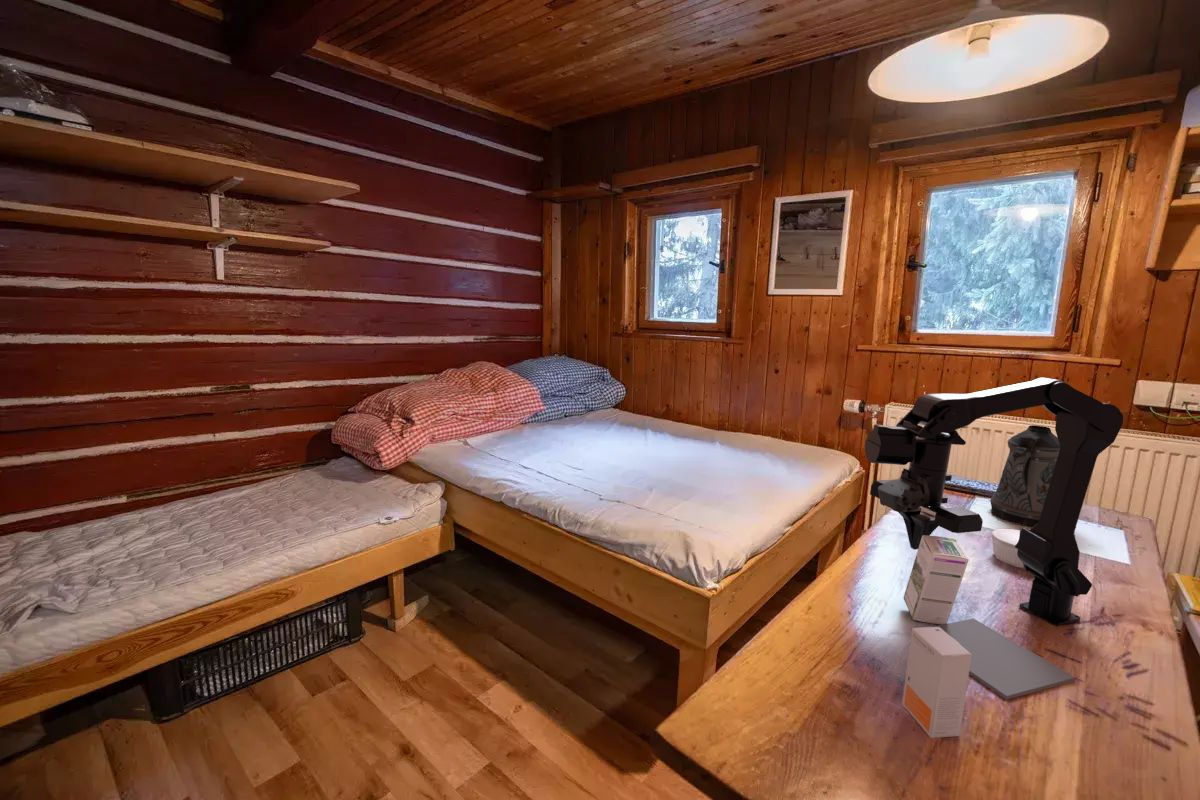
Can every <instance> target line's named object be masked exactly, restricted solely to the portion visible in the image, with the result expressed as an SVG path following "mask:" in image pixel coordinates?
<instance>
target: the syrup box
mask: <svg viewBox="0 0 1200 800" xmlns="http://www.w3.org/2000/svg"><path fill="white" fill-rule="evenodd" d="M969 560H970V559H969V558H968V556H967V555H966V553H965V552H964V550H963V549H962V547H961V546H960V544H959V543H958V541H957V539H955V538H950V537H946V536H945V537H944V536H936V535H930V536H927V535H923V536H922V538H921V541H920V545H919V548H918V549H917V552H916V555H915V559H914V561H913V565H912V568H911V571H910V575H909V577H908V582H907V584H906V589H905V592H904V595H903V601H904V604H905V605H906V606H907V609H908V612H909V614H910V617H911V618H912V620H914V621H918V622H922V623H928V624H934V625H938V626H939V625H943V624H948V621H949V619H950V616H951V613H952V610H953V606H954V603H955V602H956V599H957V595H958V593H959V589H960V586H961V583H962V580H963V578H964V574H965V572H966V569H967V566H968V563H969Z"/></svg>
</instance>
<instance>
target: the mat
mask: <svg viewBox="0 0 1200 800" xmlns="http://www.w3.org/2000/svg"><path fill="white" fill-rule="evenodd" d="M933 627H940V628H941V629H942V630H943V631H945V632H946V633H947V634H948V635H949V636H951V637H952V638H954V639H955V640H956V641H957V642H959V644H960V645H961V646H962V647H964V648H965V649H966V650H967V651H968V652H970V653H971V654H972V658H971V664H970V670H969V676H971V677H972V678H974V679H975V680H977V681H979V682H980V683H981V684H982V685H984V686H985V687H987V688H989V689H990V690H992V691H993V692H994V693H995V694H997V695H999V696H1000V697H1001V698H1003V699H1004V700H1005V701H1007V700H1010V699H1015V698H1017V697H1021V696H1025V695H1029V694H1032V693H1036V692H1039V691H1044V690H1047V689H1051V688H1054V687H1057V686H1061V685H1066V684H1068V683H1073V682H1075V681H1076V676H1074V675H1072V674H1070V673H1068V671H1065V670H1063V669H1061V668H1060V667H1058V666H1056V665H1055V664H1053V663H1051V662H1049V660H1046V659H1045V658H1042V657H1041V656H1039V655H1038V654H1035V653H1034V652H1033V651H1031V650H1029V649H1027V648H1025V647H1024V646H1022V645H1020V644H1018V643H1017V642H1015V641H1014V640H1012V639H1011V638H1009V637H1006V636H1005V635H1003V634H1001V633H1000V632H998V631H996V630H994V629H993V628H991V627H989V626H988V625H986V624H984V623H983V622H981V621H979V620H977V619H976V618H974V617H973V618H968V619H964V620H959V621H955V622H954V621H953V622H949V623H948V622H947V624H943V625H939V624H938V625H936V626H933Z"/></svg>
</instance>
